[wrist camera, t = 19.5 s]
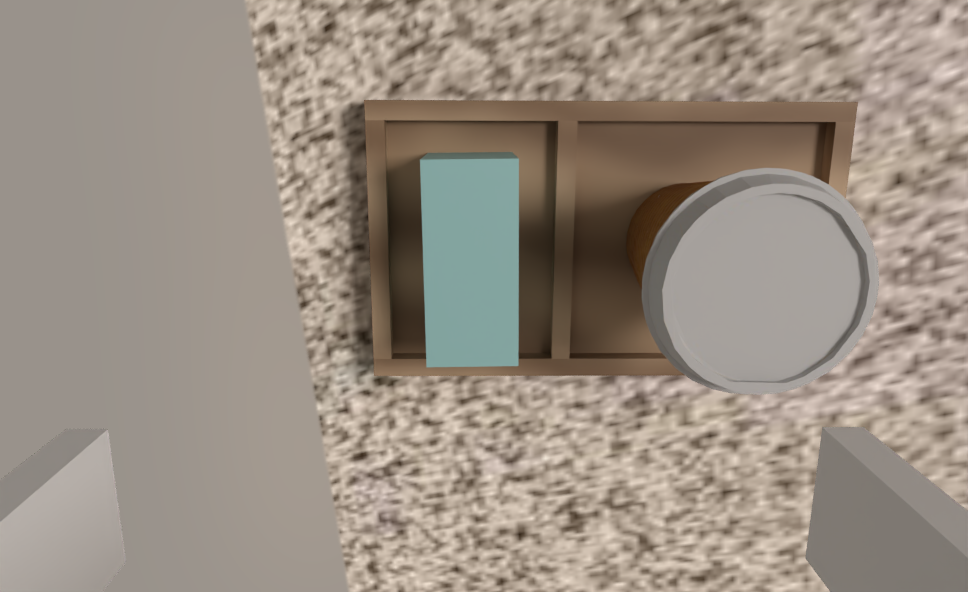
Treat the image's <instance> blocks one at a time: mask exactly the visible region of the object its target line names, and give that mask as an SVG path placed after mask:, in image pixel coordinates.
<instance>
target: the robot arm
mask: <svg viewBox="0 0 968 592" xmlns="http://www.w3.org/2000/svg"><path fill="white" fill-rule="evenodd" d="M806 560H807V561H808V562H809V564H810V565H811V566H812V568H813V569H814V570H815V572H816V573H817V574H818V576H819V577H820V578H821V580H822V581H823V582H824V584H825V585H826V586H827V588H828V589H829V590H830V592H968V511H967V510H966V509H965V508H964V507H962V506H961V505H960V504H959V503H957V502H956V501H955V500H954V499H952V498H951V497H950V496H949V495H947V494H946V493H945V492H944V491H942V490H941V489H940V488H939V487H937V486H936V485H935V484H934V483H932V482H931V481H930V480H929V479H927V478H926V477H925V476H924V475H922V474H921V473H920V472H919V471H918V470H916V469H915V468H914V467H913V466H911V465H910V464H909V463H908V462H906V461H905V460H904V459H903V458H901V457H900V456H899V455H898V454H896V453H895V452H894V451H893V450H891V449H890V448H889V447H888V446H886V445H885V444H884V443H883V442H881V441H880V440H879V439H878V438H876V437H875V436H874V435H873V434H871V433H870V432H869V431H868V430H866V429H865V428H864V427H822V435H821V442H820V450H819V458H818V466H817V473H816V481H815V489H814V496H813V504H812V512H811V520H810V527H809V535H808V543H807V550H806ZM125 562H126V558H125V552H124V544H123V536H122V529H121V522H120V515H119V507H118V500H117V493H116V485H115V477H114V470H113V463H112V456H111V449H110V441H109V434H108V429H65V430H64V431H63V432H61V433H60V434H59V435H58V436H56V437H55V438H54V439H52V440H51V441H50V442H48V443H47V444H46V445H45V446H43V447H42V448H41V449H39V450H38V451H37V452H36V453H34V454H33V455H32V456H30V457H29V458H28V459H26V460H25V461H24V462H23V463H21V464H20V465H19V466H18V467H16V468H15V469H14V470H12V471H11V472H10V473H8V474H7V475H6V476H5V477H3V478H2V479H1V480H0V592H103V591H104V589H105V588H106V587H107V586H108V584H109V583H110V582H111V580H112V579H113V578H114V577H115V575H116V574H117V573H118V571H119V570H120V569H121V568H122V566H123V565H124V564H125Z"/></svg>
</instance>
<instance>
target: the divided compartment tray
mask: <svg viewBox="0 0 968 592" xmlns="http://www.w3.org/2000/svg"><path fill="white" fill-rule="evenodd" d="M857 105H858V102H699V101H456V100H364V110H365V137H366V165H367V193H368V221H369V248H370V276H371V304H372V331H373V359H374V376H566V375H684V374H683V373H682V372H680V371H679V370H677V369H676V368H675V367H674V366H673V365H672V364H671V363H670V361H669V360H668V359H667V358H666V357H665V356H664V355H663V354H662V353H661V351H660V350H659V348H658V346H657V344H656V343H655V341H654V339H653V337H652V335H651V333H650V331H649V329H648V326H647V323H646V320H645V315H644V310H643V304H642V290H641V288H640V286H639V283H638V281H637V278H636V276H635V274H634V271H633V268H632V266H631V264H630V262H629V258H628V254H627V248H626V241H627V232H628V228H629V225H630V222H631V219H632V217H633V215H634V214H635V212H636V210H637V209H638V208H639V206H640V205H641V204H642V203H643V202H644V201H645V200H646V199H647V198H648V197H649V196H651V195H652V194H653V193H655V192H657V191H658V190H660V189H662V188H664V187H667V186H670V185H673V184H680V183H694V182H705V181H715V180H716V179H718V178H720V177H723V176H726V175H730V174H733V173H737V172H740V171H744V170H748V169H758V168H781V169H789V170H793V171H798V172H802V173H805V174H808V175H811V176H813V177H815V178H817V179H819V180H821V181H823V182H825V183H827V184H829V185H830V186H831V187H832V188H834V189H835V190H836V191H838V192H839V193H840V194H841V195H842V196H843V197H844V198H845V199H846V191H847V183H848V175H849V167H850V160H851V152H852V144H853V136H854V128H855V120H856V112H857ZM452 152H513V153H514V154H515V155H516V156H517V157H518V158H519V351H518V366H488V367H427V366H426V334H425V302H424V271H423V239H422V207H421V175H420V159H421V158H423V157H424V156H425V155H426V154H427V153H452Z"/></svg>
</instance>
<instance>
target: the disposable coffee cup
mask: <svg viewBox="0 0 968 592" xmlns="http://www.w3.org/2000/svg"><path fill="white" fill-rule="evenodd" d="M626 248H627V254H628V258H629V262H630V264H631V266H632V268H633V271H634V274H635V276H636V278H637V281H638V283H639V286H640V288H641V290H642V304H643V310H644V315H645V320H646V323H647V326H648V329H649V331H650V333H651V335H652V337H653V339H654V341H655V343H656V344H657V346H658V348H659V350H660V351H661V353H662V354H663V355H664V356H665V357H666V358H667V359H668V360H669V361H670V363H671V364H672V365H673V366H674V367H675V368H676V369H677V370H679V371H680V372H682V373H683V374H684V375H686V376H687V377H688V378H690V379H691V380H693V381H695V382H697V383H700V384H702V385H704V386H706V387H709V388H711V389H715V390H719V391H724V392H728V393H738V394H755V395H757V394H773V393H780V392H784V391H788V390H792V389H795V388H798V387H801V386H803V385H806V384H808V383H810V382H812V381H814V380H815V379H817V378H819V377H821V376H822V375H824V374H826V373H827V372H829V371H831V370H832V369H833V368H834V367H835V366H836V365H837V364H838V363H839V362H840V361H841V360H842V359H843V358H845V357H846V356H847V355H848V354H849V353H850V352H851V350H852V349H853V348H854V346H855V345H856V343H857V342H858V341H859V339H860V338H861V337H862V335H863V333H864V331H865V329H866V327H867V325H868V323H869V321H870V319H871V317H872V315H873V311H874V307H875V303H876V299H877V295H878V286H879V274H878V261H877V257H876V253H875V250H874V246H873V243H872V241H871V239H870V237H869V235H868V233H867V230H866V229H865V226H864V224H863V222H862V220H861V219H860V217H859V215H858V214H857V212H856V211H855V209H854V208H853V206H852V205H851V204H850V203H849V202H848V201H847V200H846V199H845V198H844V197H843V196H842V195H841V194H840V193H839V192H838V191H836V190H835V189H834V188H832V187H831V186H830V185H829V184H827V183H825V182H823V181H821V180H819V179H817V178H815V177H813V176H811V175H808V174H805V173H802V172H798V171H793V170H789V169H781V168H758V169H748V170H744V171H740V172H737V173H733V174H730V175H726V176H723V177H720V178H718V179H716V180H715V181H705V182H694V183H680V184H673V185H670V186H667V187H664V188H662V189H660V190H658V191H657V192H655V193H653V194H652V195H651V196H649V197H648V198H647V199H646V200H645V201H644V202H643V203H642V204H641V205H640V206H639V208H638V209H637V210H636V212H635V214H634V215H633V217H632V219H631V222H630V225H629V228H628V232H627V241H626Z"/></svg>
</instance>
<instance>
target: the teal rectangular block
mask: <svg viewBox="0 0 968 592" xmlns="http://www.w3.org/2000/svg"><path fill="white" fill-rule="evenodd" d="M420 175H421V207H422V239H423V271H424V302H425V334H426V366H427V367H488V366H518V351H519V158H518V157H517V156H516V155H515V154H514V153H513V152H452V153H427V154H426V155H425V156H424V157H423V158H421V159H420Z"/></svg>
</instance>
